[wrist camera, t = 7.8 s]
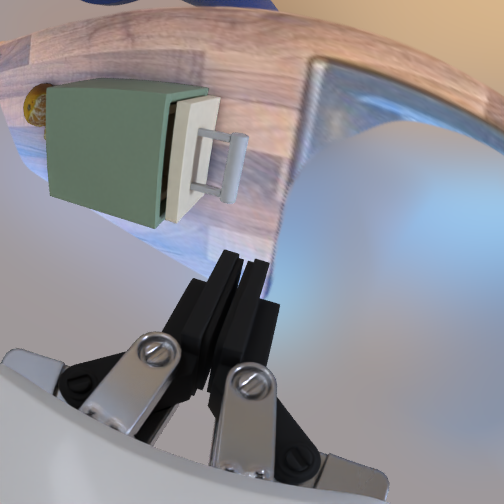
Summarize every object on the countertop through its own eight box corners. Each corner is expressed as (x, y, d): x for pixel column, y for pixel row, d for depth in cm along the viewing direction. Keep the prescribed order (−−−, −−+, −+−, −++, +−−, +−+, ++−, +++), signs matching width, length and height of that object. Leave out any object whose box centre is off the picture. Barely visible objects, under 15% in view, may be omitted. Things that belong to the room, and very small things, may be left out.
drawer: (264, 106, 25) (246, 114, 20) (242, 205, 31) (222, 237, 26) (113, 84, 27) (71, 92, 21) (109, 170, 32) (71, 192, 27)
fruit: (58, 147, 33) (40, 156, 30) (29, 114, 31) (10, 121, 28) (82, 98, 29) (61, 103, 26) (49, 66, 27) (29, 70, 24)
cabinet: (208, 87, 26) (166, 94, 19) (192, 192, 33) (154, 229, 26) (101, 77, 27) (46, 87, 20) (96, 168, 34) (49, 195, 27)
